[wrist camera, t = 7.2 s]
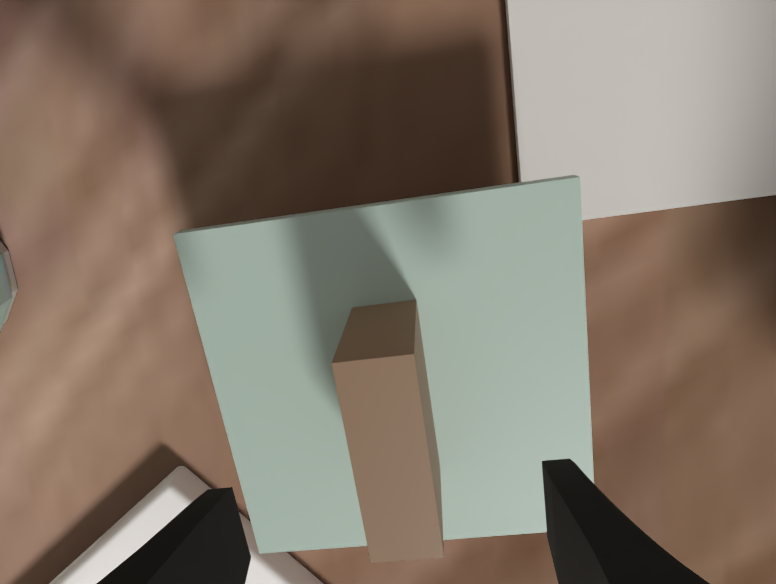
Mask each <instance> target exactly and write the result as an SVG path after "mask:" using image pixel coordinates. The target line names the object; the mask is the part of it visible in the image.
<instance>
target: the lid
mask: <svg viewBox="0 0 776 584" xmlns="http://www.w3.org/2000/svg"><path fill="white" fill-rule="evenodd" d="M173 236H174V240H175V243H176V247H177V251H178V254H179V258H180V262H181V266H182V269H183V273H184V277H185V280H186V284H187V288H188V291H189V295H190V299H191V303H192V306H193V310H194V314H195V317H196V321H197V325H198V328H199V332H200V336H201V340H202V343H203V347H204V351H205V354H206V358H207V362H208V365H209V369H210V373H211V377H212V380H213V384H214V388H215V391H216V395H217V399H218V402H219V406H220V410H221V414H222V417H223V421H224V425H225V428H226V432H227V436H228V439H229V443H230V447H231V451H232V454H233V458H234V462H235V465H236V469H237V473H238V476H239V480H240V484H241V488H242V491H243V495H244V499H245V502H246V506H247V510H248V513H249V517H250V521H251V525H252V528H253V532H254V536H255V539H256V543H257V547H258V550H259V554H262V553H276V552H289V551H302V550H316V549H329V548H342V547H355V546H367V547H368V552H369V557H370V562H371V563H378V562H392V561H406V560H420V559H434V558H444V543H443V540H448V539H462V538H475V537H488V536H502V535H515V534H528V533H541V532H547V525H546V512H545V498H544V485H543V472H542V461H546V460H558V459H571V460H572V461H573V462H575V463H576V464H577V466H578V467H579V468H580V469H581V470H582V471H583V472H584V474H585V475H586V476H587V477H588V478H589V479H590V480H591V481H592V482H593V483H594V474H593V452H592V430H591V408H590V386H589V364H588V342H587V320H586V298H585V276H584V254H583V232H582V210H581V188H580V177H579V176H576V175H569V176H562V177H555V178H547V179H540V180H533V181H526V182H519V183H512V184H505V185H498V186H491V187H484V188H477V189H470V190H462V191H455V192H448V193H441V194H434V195H427V196H420V197H413V198H406V199H399V200H392V201H385V202H377V203H370V204H363V205H356V206H349V207H342V208H335V209H328V210H321V211H314V212H307V213H300V214H293V215H285V216H278V217H271V218H264V219H257V220H250V221H243V222H236V223H229V224H222V225H215V226H208V227H200V228H193V229H186V230H181V231H179V232H177V233H175V234H173Z"/></svg>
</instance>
